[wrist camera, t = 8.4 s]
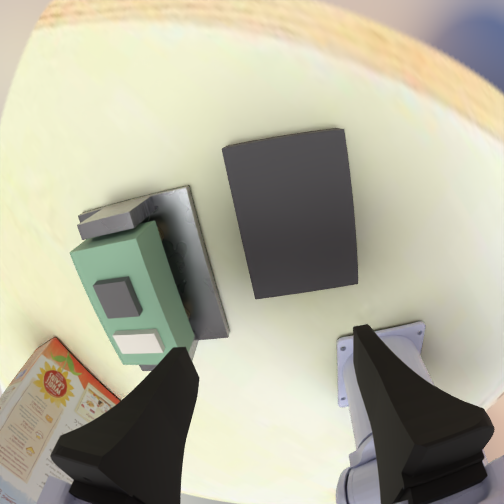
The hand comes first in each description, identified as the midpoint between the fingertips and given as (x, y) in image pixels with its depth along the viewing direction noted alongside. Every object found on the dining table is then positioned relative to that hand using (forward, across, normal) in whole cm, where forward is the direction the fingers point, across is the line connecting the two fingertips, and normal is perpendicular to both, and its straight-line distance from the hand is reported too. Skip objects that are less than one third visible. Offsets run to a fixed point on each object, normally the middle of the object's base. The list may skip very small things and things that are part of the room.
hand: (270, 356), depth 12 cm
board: (+8, +9, 0) cm, 12 cm away
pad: (+10, -2, -3) cm, 11 cm away
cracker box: (+10, +24, +13) cm, 29 cm away
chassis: (+10, +9, 0) cm, 13 cm away
